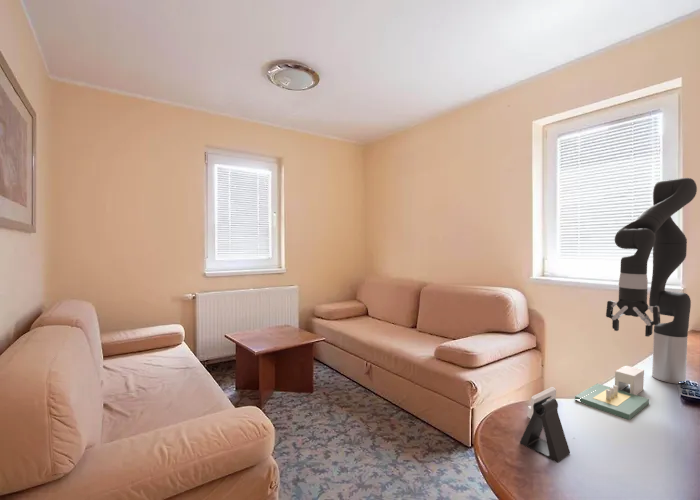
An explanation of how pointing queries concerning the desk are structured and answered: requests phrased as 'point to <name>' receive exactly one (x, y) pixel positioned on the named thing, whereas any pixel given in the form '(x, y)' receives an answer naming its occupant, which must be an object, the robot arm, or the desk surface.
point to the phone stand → (546, 431)
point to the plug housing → (630, 379)
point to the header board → (613, 400)
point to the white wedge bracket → (542, 395)
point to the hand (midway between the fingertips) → (631, 333)
